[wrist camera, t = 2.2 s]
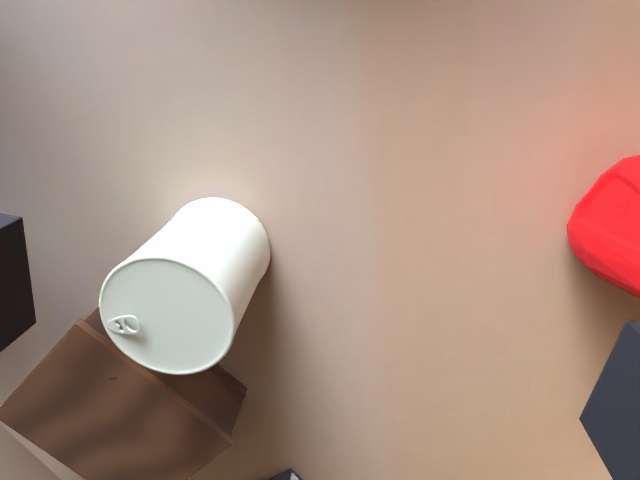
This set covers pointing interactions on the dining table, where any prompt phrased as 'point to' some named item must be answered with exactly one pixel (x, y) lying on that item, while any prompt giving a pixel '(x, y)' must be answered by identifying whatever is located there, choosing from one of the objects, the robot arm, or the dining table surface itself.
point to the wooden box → (122, 411)
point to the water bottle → (611, 226)
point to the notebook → (287, 476)
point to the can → (186, 288)
